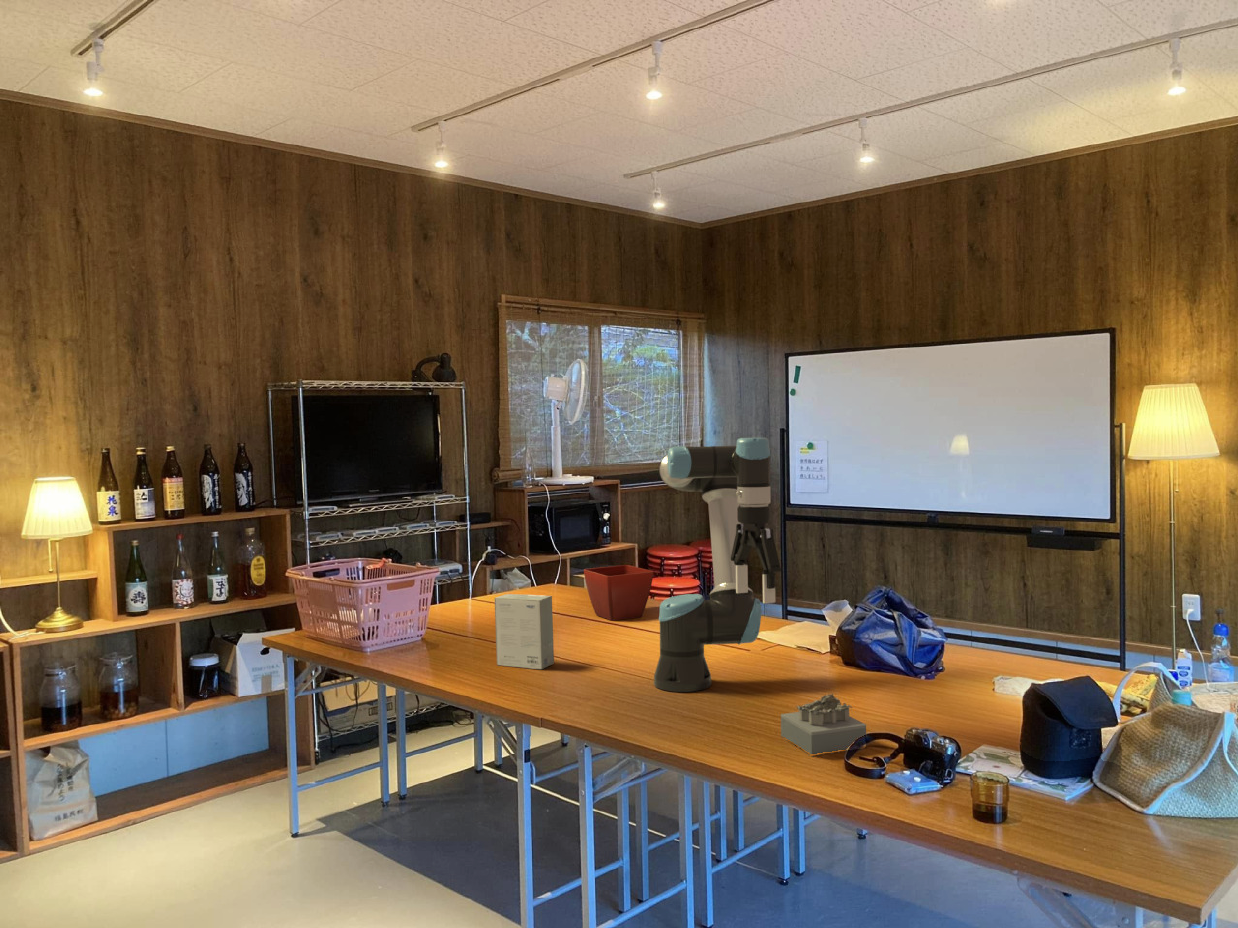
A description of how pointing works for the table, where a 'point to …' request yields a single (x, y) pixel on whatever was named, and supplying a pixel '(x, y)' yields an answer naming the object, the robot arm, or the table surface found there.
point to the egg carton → (824, 711)
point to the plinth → (821, 733)
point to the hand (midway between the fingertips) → (755, 597)
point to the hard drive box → (524, 631)
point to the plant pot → (618, 591)
